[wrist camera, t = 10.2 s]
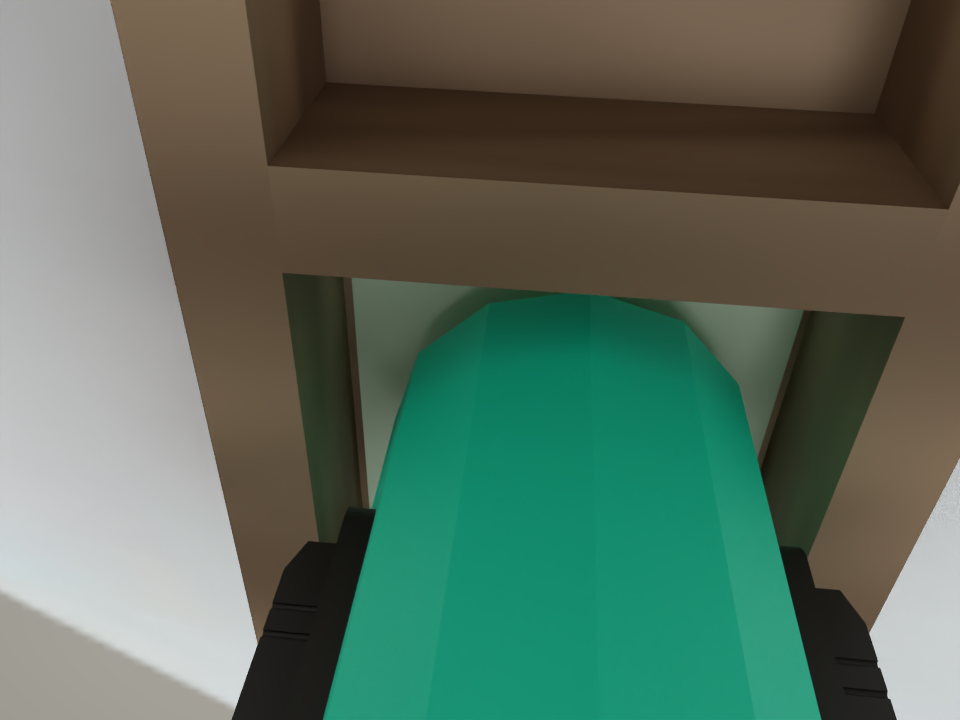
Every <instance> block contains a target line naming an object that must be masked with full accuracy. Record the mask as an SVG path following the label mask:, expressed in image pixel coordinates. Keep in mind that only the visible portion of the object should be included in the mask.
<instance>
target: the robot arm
mask: <svg viewBox="0 0 960 720" xmlns="http://www.w3.org/2000/svg"><path fill="white" fill-rule="evenodd" d="M375 513H376V509H369V508H358V507H349V508H348V509H347V511H346V513H345V516H344V519H343V523H342V526H341V530H340V533H339V536H338V540H337V543H326V542H315V541H308V542H307V543H306V544H305V545H304V546H303V548H302V549H301V550H300V551H299V552H298V553H297V554H296V556H295V557H294V558H293V559H292V560H291V561H290V562H289V564H288V565H287V566H286V567H285V568H284V570H283V573H282V576H281V579H280V582H279V584H278V587H277V590H276V593H275V596H274V599H273V602H272V608H271V609H270V610H269V613H268V616H267V619H266V622H265V625H264V628H263V635H262V637H261V636H260V639H259V642H258V645H257V648H256V651H255V654H254V657H253V660H252V662H251V665H250V668H249V671H248V674H247V677H246V680H245V683H244V686H243V689H242V691H241V694H240V697H239V700H238V703H237V706H236V709H235V712H234V715H233V717H232V720H323V717H324V713H325V709H326V705H327V701H328V698H329V694H330V690H331V686H332V682H333V678H334V674H335V670H336V666H337V662H338V658H339V655H340V651H341V647H342V643H343V639H344V635H345V631H346V627H347V623H348V619H349V616H350V612H351V608H352V604H353V600H354V596H355V592H356V588H357V584H358V580H359V576H360V573H361V569H362V565H363V561H364V557H365V553H366V549H367V545H368V541H369V537H370V533H371V530H372V526H373V522H374V518H375ZM778 546H779V545H778ZM779 550H780V554H781V558H782V562H783V566H784V570H785V574H786V578H787V582H788V586H789V590H790V594H791V598H792V603H793V607H794V611H795V615H796V619H797V623H798V627H799V631H800V635H801V639H802V643H803V647H804V651H805V655H806V659H807V664H808V668H809V672H810V676H811V680H812V684H813V688H814V692H815V696H816V700H817V704H818V708H819V712H820V716H821V720H897V719H896V716H895V713H894V710H893V706H892V703H891V700H890V699H888V697H887V692H888V691H887V688H886V685H885V682H884V678H883V675H882V672H881V669H880V668H878V666H877V662H878V660H877V657H876V654H875V650H874V647H873V644H872V641H871V638H870V635H869V632H868V629H867V626H866V623H865V622H864V621H863V619H862V618H861V617H860V615H859V614H858V613H857V611H856V610H855V609H854V608H853V606H852V605H851V604H850V602H849V601H848V600H847V598H846V597H845V596H844V594H843V593H842V592H841V591H840V590H834V589H823V588H815V584H814V581H813V577H812V574H811V570H810V566H809V563H808V559H807V556H806V554H805V552H804V551H803V549H801V548H800V547H790V546H779Z"/></svg>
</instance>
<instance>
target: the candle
mask: <svg viewBox="0 0 960 720" xmlns="http://www.w3.org/2000/svg"><path fill="white" fill-rule="evenodd" d="M372 509H376V513H375V518H374V522H373V526H372V530H371V533H370V537H369V541H368V545H367V549H366V553H365V557H364V561H363V565H362V569H361V573H360V576H359V580H358V584H357V588H356V592H355V596H354V600H353V604H352V608H351V612H350V616H349V619H348V623H347V627H346V631H345V635H344V639H343V643H342V647H341V651H340V655H339V658H338V662H337V666H336V670H335V674H334V678H333V682H332V686H331V690H330V694H329V698H328V701H327V705H326V709H325V713H324V717H323V720H821V716H820V712H819V708H818V704H817V700H816V696H815V692H814V688H813V684H812V680H811V676H810V672H809V668H808V664H807V659H806V655H805V651H804V647H803V643H802V639H801V635H800V631H799V627H798V623H797V619H796V615H795V611H794V607H793V603H792V598H791V594H790V590H789V586H788V582H787V578H786V574H785V570H784V566H783V562H782V558H781V554H780V550H779V546H778V542H777V537H776V533H775V529H774V525H773V521H772V517H771V513H770V509H769V505H768V501H767V497H766V493H765V489H764V485H763V481H762V476H761V472H760V468H759V464H758V460H757V456H756V452H755V448H754V444H753V440H752V436H751V432H750V428H749V424H748V420H747V415H746V411H745V407H744V403H743V399H742V395H741V391H740V387H739V384H738V383H737V381H736V380H735V379H734V378H733V377H732V376H731V375H730V374H729V372H728V371H727V370H726V369H725V368H724V367H723V366H722V364H721V363H720V362H719V361H718V360H717V359H716V358H715V356H714V355H713V354H712V353H711V352H710V351H709V350H708V348H707V347H706V346H705V345H704V344H703V343H702V342H701V340H700V339H699V338H698V337H697V336H696V335H695V334H694V332H693V331H692V330H691V329H690V328H689V327H688V326H687V324H686V323H685V322H684V321H681V320H678V319H675V318H672V317H669V316H666V315H663V314H660V313H657V312H654V311H651V310H647V309H644V308H641V307H638V306H635V305H632V304H629V303H626V302H623V301H620V300H617V299H614V298H611V297H608V296H601V295H587V294H573V293H565V294H557V295H549V296H541V297H533V298H525V299H517V300H510V301H502V302H494V303H489V304H487V305H486V306H484V307H483V308H482V309H480V310H479V311H477V312H476V313H474V314H473V315H472V316H470V317H469V318H467V319H466V320H464V321H463V322H462V323H460V324H459V325H457V326H456V327H455V328H453V329H452V330H450V331H449V332H447V333H446V334H445V335H443V336H442V337H440V338H439V339H437V340H436V341H435V342H433V343H432V344H430V345H429V346H427V347H426V348H425V349H423V350H422V351H420V352H419V353H418V356H417V359H416V361H415V364H414V367H413V370H412V373H411V375H410V378H409V381H408V384H407V387H406V390H405V392H404V395H403V398H402V401H401V404H400V407H399V409H398V412H397V415H396V418H395V421H394V425H393V429H392V433H391V437H390V440H389V444H388V448H387V452H386V456H385V459H384V463H383V467H382V471H381V475H380V478H379V482H378V486H377V490H376V494H375V497H374V501H373V505H372Z"/></svg>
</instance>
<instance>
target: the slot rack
mask: <svg viewBox="0 0 960 720" xmlns="http://www.w3.org/2000/svg"><path fill="white" fill-rule="evenodd" d="M110 1H111V6H112V10H113V14H114V19H115V23H116V27H117V32H118V36H119V40H120V45H121V49H122V54H123V58H124V62H125V67H126V71H127V75H128V80H129V84H130V88H131V93H132V97H133V102H134V106H135V110H136V115H137V119H138V123H139V128H140V132H141V136H142V141H143V145H144V150H145V154H146V158H147V163H148V167H149V171H150V176H151V180H152V184H153V189H154V193H155V198H156V202H157V206H158V211H159V215H160V219H161V224H162V228H163V232H164V237H165V241H166V246H167V250H168V254H169V259H170V263H171V267H172V272H173V276H174V280H175V285H176V289H177V294H178V298H179V302H180V307H181V311H182V315H183V320H184V324H185V328H186V333H187V337H188V342H189V346H190V350H191V355H192V359H193V363H194V368H195V372H196V376H197V381H198V385H199V390H200V394H201V398H202V403H203V407H204V411H205V416H206V420H207V424H208V429H209V433H210V438H211V442H212V446H213V451H214V455H215V459H216V464H217V468H218V472H219V477H220V481H221V486H222V490H223V494H224V499H225V503H226V507H227V512H228V516H229V520H230V525H231V529H232V534H233V538H234V542H235V547H236V551H237V555H238V560H239V564H240V568H241V573H242V577H243V582H244V586H245V590H246V595H247V599H248V603H249V608H250V612H251V616H252V621H253V625H254V630H255V634H256V638H257V643H258V642H259V639H260V636H261V637H262V635H263V628H264V625H265V622H266V619H267V616H268V613H269V610H270V609H271V608H272V602H273V599H274V596H275V593H276V590H277V587H278V584H279V582H280V579H281V576H282V573H283V570H284V568H285V567H286V566H287V565H288V564H289V562H290V561H291V560H292V559H293V558H294V557H295V556H296V554H297V553H298V552H299V551H300V550H301V549H302V548H303V546H304V545H305V544H306V543H307V542H308V541H315V542H326V543H337V540H338V536H339V533H340V530H341V526H342V523H343V519H344V516H345V513H346V511H347V509H348V508H349V507H358V508H369V509H372V505H373V501H374V497H375V494H376V490H377V486H378V482H379V478H380V475H381V471H382V467H383V463H384V459H385V456H386V452H387V448H388V444H389V440H390V437H391V433H392V429H393V425H394V421H395V418H396V415H397V412H398V409H399V407H400V404H401V401H402V398H403V395H404V392H405V390H406V387H407V384H408V381H409V378H410V375H411V373H412V370H413V367H414V364H415V361H416V359H417V356H418V353H419V352H420V351H422V350H423V349H425V348H426V347H427V346H429V345H430V344H432V343H433V342H435V341H436V340H437V339H439V338H440V337H442V336H443V335H445V334H446V333H447V332H449V331H450V330H452V329H453V328H455V327H456V326H457V325H459V324H460V323H462V322H463V321H464V320H466V319H467V318H469V317H470V316H472V315H473V314H474V313H476V312H477V311H479V310H480V309H482V308H483V307H484V306H486V305H487V304H489V303H494V302H502V301H510V300H517V299H525V298H533V297H541V296H549V295H557V294H565V293H573V294H587V295H601V296H608V297H611V298H614V299H617V300H620V301H623V302H626V303H629V304H632V305H635V306H638V307H641V308H644V309H647V310H651V311H654V312H657V313H660V314H663V315H666V316H669V317H672V318H675V319H678V320H681V321H684V322H685V323H686V324H687V326H688V327H689V328H690V329H691V330H692V331H693V332H694V334H695V335H696V336H697V337H698V338H699V339H700V340H701V342H702V343H703V344H704V345H705V346H706V347H707V348H708V350H709V351H710V352H711V353H712V354H713V355H714V356H715V358H716V359H717V360H718V361H719V362H720V363H721V364H722V366H723V367H724V368H725V369H726V370H727V371H728V372H729V374H730V375H731V376H732V377H733V378H734V379H735V380H736V381H737V383H738V384H739V387H740V391H741V395H742V399H743V403H744V407H745V411H746V415H747V420H748V424H749V428H750V432H751V436H752V440H753V444H754V448H755V452H756V456H757V460H758V464H759V468H760V472H761V476H762V481H763V485H764V489H765V493H766V497H767V501H768V505H769V509H770V513H771V517H772V521H773V525H774V529H775V533H776V537H777V542H778V545H779V546H790V547H800V548H801V549H803V551H804V552H805V554H806V556H807V559H808V563H809V566H810V570H811V574H812V577H813V581H814V584H815V588H823V589H834V590H840V591H841V592H842V593H843V594H844V596H845V597H846V598H847V600H848V601H849V602H850V604H851V605H852V606H853V608H854V609H855V610H856V611H857V613H858V614H859V615H860V617H861V618H862V619H863V621H864V622H865V623H866V626H867V629H868V632H870V630H871V628H872V627H873V625H874V623H875V621H876V619H877V617H878V615H879V613H880V611H881V609H882V607H883V605H884V603H885V601H886V599H887V598H888V596H889V594H890V592H891V590H892V588H893V586H894V584H895V582H896V580H897V578H898V576H899V574H900V572H901V571H902V569H903V567H904V565H905V563H906V561H907V559H908V557H909V555H910V553H911V551H912V549H913V547H914V545H915V543H916V542H917V540H918V538H919V536H920V534H921V532H922V530H923V528H924V526H925V524H926V522H927V520H928V518H929V516H930V514H931V513H932V511H933V509H934V507H935V505H936V503H937V501H938V499H939V497H940V495H941V493H942V491H943V489H944V487H945V486H946V484H947V482H948V480H949V478H950V476H951V474H952V472H953V470H954V468H955V466H956V464H957V462H958V460H959V458H960V0H110Z"/></svg>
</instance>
